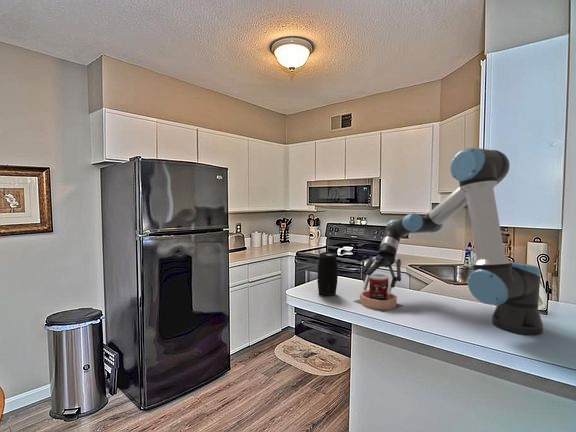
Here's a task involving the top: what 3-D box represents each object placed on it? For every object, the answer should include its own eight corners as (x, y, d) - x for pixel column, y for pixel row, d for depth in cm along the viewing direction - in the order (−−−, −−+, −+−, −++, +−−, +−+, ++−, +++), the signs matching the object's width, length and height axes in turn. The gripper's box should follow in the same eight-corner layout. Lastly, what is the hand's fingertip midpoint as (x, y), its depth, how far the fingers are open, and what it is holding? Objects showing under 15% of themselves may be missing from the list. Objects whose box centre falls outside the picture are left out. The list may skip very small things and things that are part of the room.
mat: (404, 306, 138) (404, 305, 138) (383, 313, 129) (383, 312, 129) (373, 296, 150) (373, 295, 150) (352, 302, 142) (352, 301, 142)
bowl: (403, 304, 138) (404, 296, 138) (381, 311, 129) (381, 303, 129) (375, 295, 150) (375, 288, 150) (352, 301, 141) (353, 293, 141)
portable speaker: (320, 291, 158) (321, 251, 157) (339, 293, 154) (340, 252, 153) (314, 296, 150) (315, 253, 149) (334, 298, 146) (335, 255, 145)
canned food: (367, 303, 138) (367, 277, 137) (371, 298, 145) (372, 273, 145) (385, 305, 135) (386, 279, 134) (389, 300, 142) (389, 275, 141)
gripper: (414, 256, 145) (404, 300, 133) (366, 251, 158) (353, 291, 145) (412, 246, 141) (401, 291, 128) (363, 241, 153) (349, 282, 141)
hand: (376, 291), depth 137 cm, fingers open, 9 cm apart
